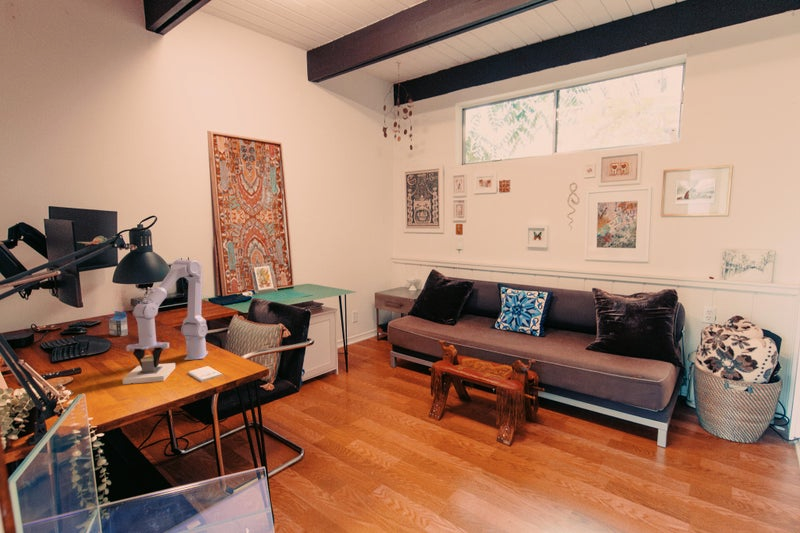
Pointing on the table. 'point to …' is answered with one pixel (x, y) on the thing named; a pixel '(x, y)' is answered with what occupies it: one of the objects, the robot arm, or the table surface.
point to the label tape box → (118, 324)
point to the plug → (148, 364)
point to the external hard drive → (204, 373)
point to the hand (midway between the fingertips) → (149, 366)
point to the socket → (149, 374)
